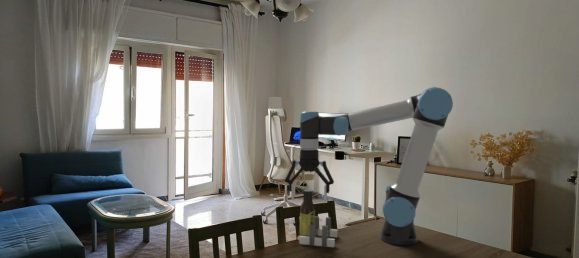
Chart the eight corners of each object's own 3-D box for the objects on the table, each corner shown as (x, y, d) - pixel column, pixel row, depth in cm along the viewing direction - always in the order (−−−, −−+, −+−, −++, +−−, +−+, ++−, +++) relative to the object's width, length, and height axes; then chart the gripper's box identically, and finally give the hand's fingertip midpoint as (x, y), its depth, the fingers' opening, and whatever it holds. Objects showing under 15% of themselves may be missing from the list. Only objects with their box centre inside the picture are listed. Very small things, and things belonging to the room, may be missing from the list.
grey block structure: (337, 236, 169) (337, 218, 168) (334, 247, 156) (334, 227, 155) (305, 233, 172) (305, 215, 171) (299, 244, 158) (299, 224, 158)
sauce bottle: (313, 240, 161) (314, 192, 160) (298, 239, 162) (299, 191, 161) (315, 235, 167) (316, 189, 166) (300, 234, 168) (302, 188, 167)
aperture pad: (317, 236, 168) (317, 235, 168) (315, 243, 160) (315, 241, 160) (299, 235, 169) (299, 233, 169) (295, 241, 162) (295, 239, 161)
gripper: (340, 148, 164) (340, 199, 165) (281, 147, 169) (281, 196, 170) (339, 150, 156) (338, 203, 157) (277, 149, 161) (277, 200, 162)
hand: (309, 200), depth 164 cm, fingers open, 13 cm apart
